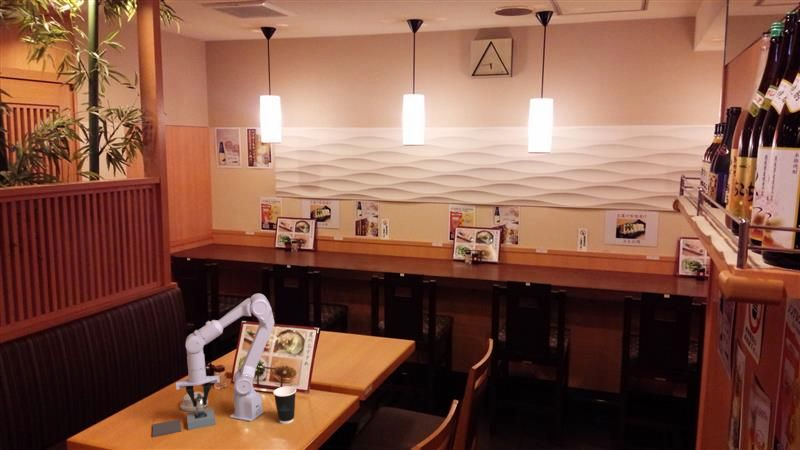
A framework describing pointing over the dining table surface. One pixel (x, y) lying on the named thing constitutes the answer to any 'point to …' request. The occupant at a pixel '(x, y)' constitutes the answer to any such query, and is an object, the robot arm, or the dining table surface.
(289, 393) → the dixie cup
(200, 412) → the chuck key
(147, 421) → the dining table surface
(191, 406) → the mechanical component
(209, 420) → the socket block
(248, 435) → the dining table surface
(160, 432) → the key mat
